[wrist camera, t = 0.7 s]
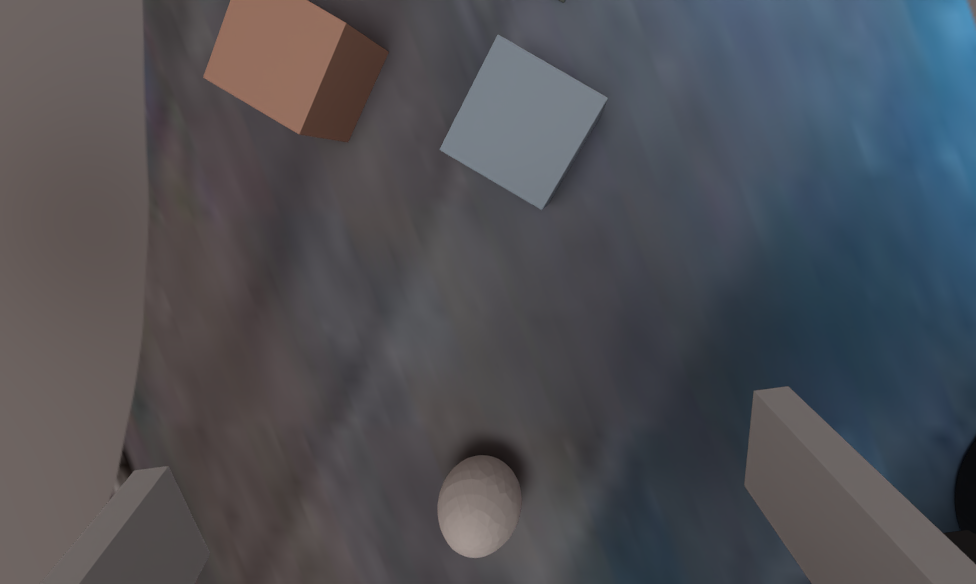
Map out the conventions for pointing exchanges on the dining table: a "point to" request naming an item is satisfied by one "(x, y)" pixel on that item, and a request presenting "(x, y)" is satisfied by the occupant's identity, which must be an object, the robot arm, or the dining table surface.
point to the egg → (479, 506)
